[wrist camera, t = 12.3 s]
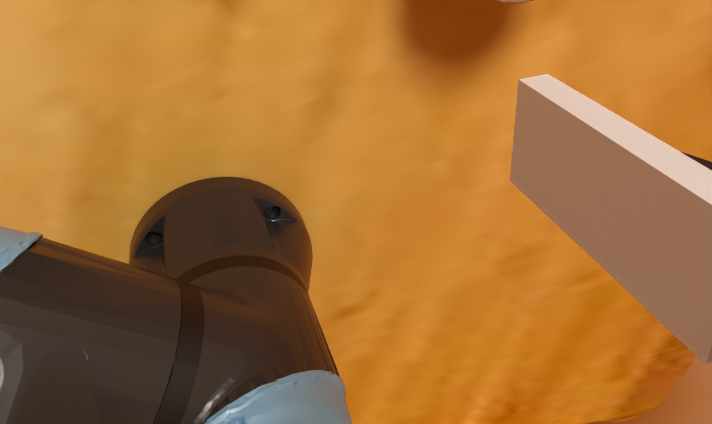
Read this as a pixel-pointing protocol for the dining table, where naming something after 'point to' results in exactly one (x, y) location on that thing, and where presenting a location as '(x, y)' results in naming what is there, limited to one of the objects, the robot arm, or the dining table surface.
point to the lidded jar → (513, 1)
